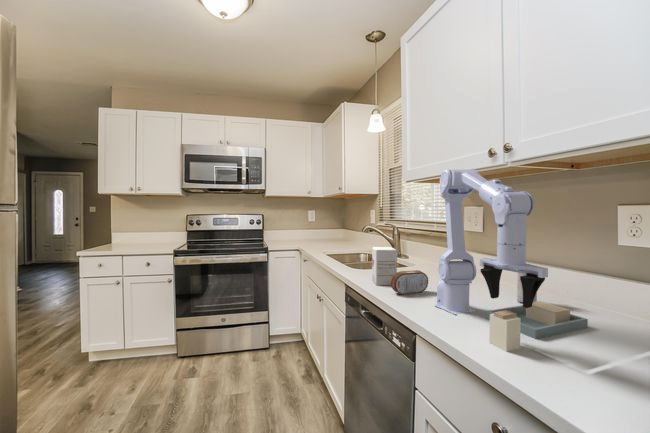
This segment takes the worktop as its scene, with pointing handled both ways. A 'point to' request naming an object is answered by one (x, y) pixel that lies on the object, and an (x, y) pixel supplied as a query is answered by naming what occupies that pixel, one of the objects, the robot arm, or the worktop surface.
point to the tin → (409, 282)
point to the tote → (539, 328)
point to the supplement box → (383, 265)
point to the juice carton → (505, 330)
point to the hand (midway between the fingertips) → (510, 302)
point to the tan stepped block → (547, 313)
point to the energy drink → (520, 290)
